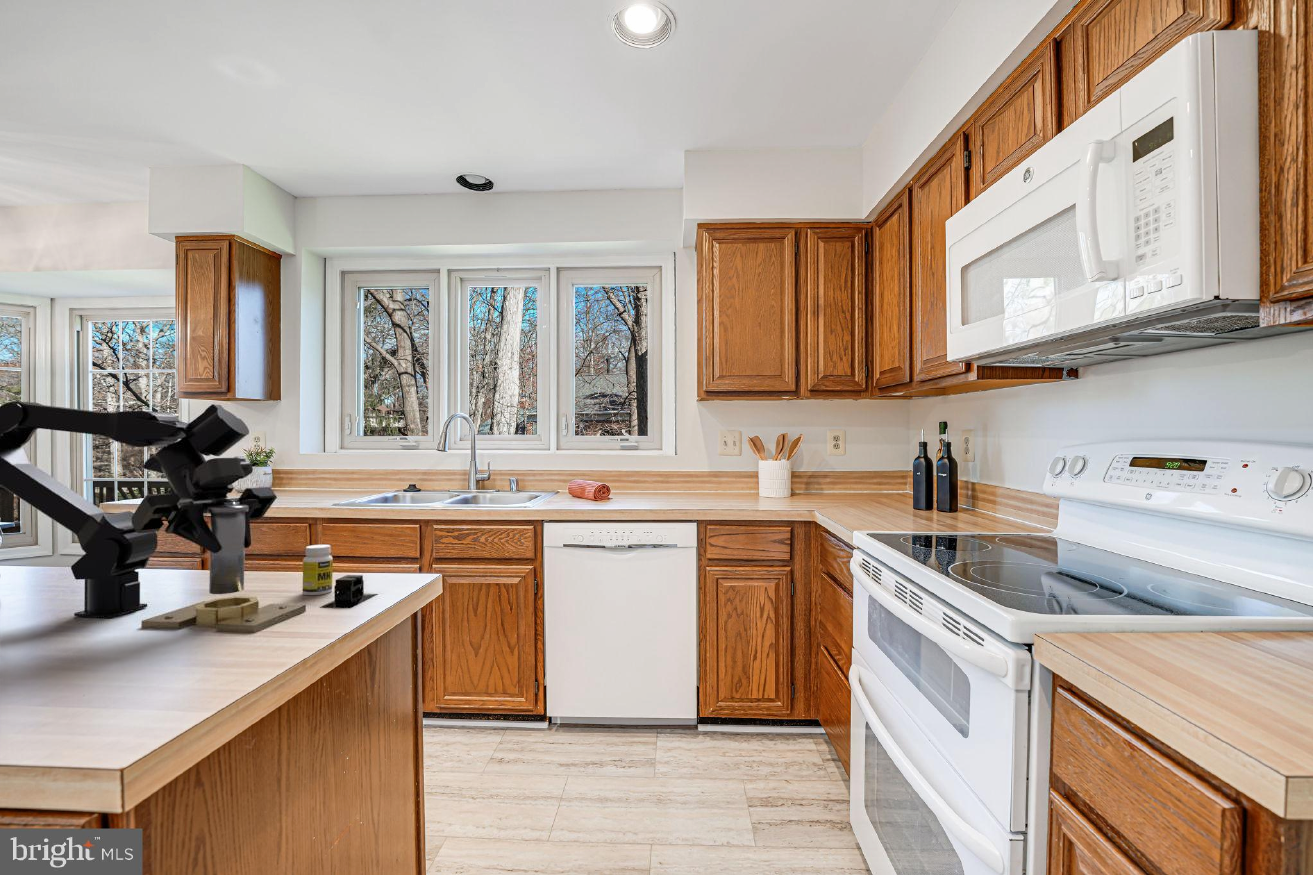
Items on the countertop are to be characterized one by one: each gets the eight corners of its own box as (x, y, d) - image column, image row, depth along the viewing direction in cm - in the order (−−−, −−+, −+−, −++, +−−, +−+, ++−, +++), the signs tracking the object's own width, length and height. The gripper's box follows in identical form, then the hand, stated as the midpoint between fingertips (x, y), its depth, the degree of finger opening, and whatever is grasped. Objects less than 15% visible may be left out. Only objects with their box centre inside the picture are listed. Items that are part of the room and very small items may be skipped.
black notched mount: (349, 614, 100) (349, 586, 100) (306, 613, 100) (306, 585, 100) (386, 594, 112) (386, 569, 112) (347, 594, 113) (347, 569, 113)
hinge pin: (197, 594, 93) (198, 507, 93) (224, 585, 98) (226, 504, 98) (228, 595, 92) (230, 508, 92) (255, 587, 98) (256, 505, 98)
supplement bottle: (319, 596, 109) (319, 549, 109) (296, 595, 110) (296, 547, 110) (338, 590, 114) (338, 544, 114) (316, 588, 115) (316, 543, 115)
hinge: (141, 627, 91) (141, 610, 91) (204, 607, 102) (204, 592, 102) (254, 632, 89) (254, 614, 89) (305, 611, 100) (305, 595, 100)
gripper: (144, 439, 88) (191, 521, 84) (270, 439, 105) (314, 507, 101) (111, 491, 91) (155, 573, 87) (239, 483, 109) (281, 551, 104)
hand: (233, 548), depth 95 cm, fingers closed on hinge pin, 4 cm apart
